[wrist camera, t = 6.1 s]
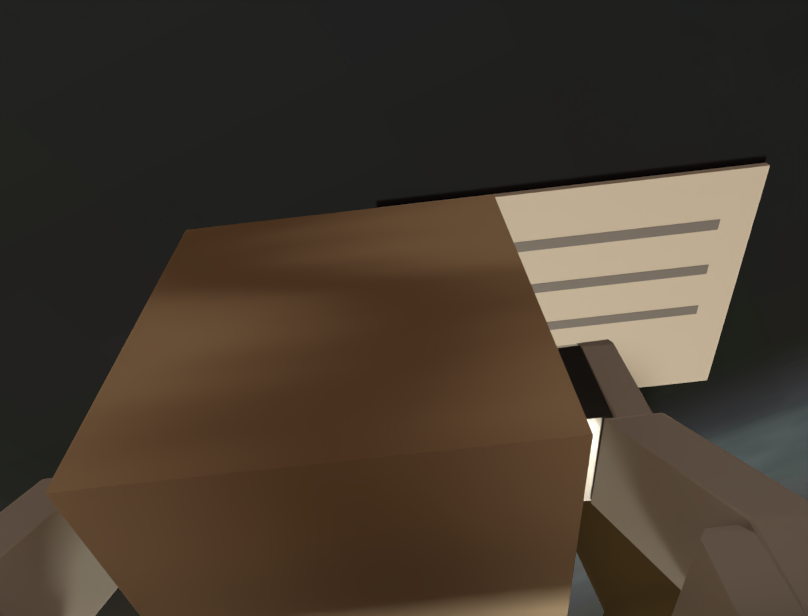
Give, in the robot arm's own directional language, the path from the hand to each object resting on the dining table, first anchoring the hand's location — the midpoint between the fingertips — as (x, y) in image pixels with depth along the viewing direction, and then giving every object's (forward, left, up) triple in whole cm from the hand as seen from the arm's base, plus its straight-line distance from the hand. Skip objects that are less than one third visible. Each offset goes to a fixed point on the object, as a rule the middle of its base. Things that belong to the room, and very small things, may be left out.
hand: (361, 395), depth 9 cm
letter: (+8, -10, -15) cm, 20 cm away
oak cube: (0, 0, -2) cm, 2 cm away
